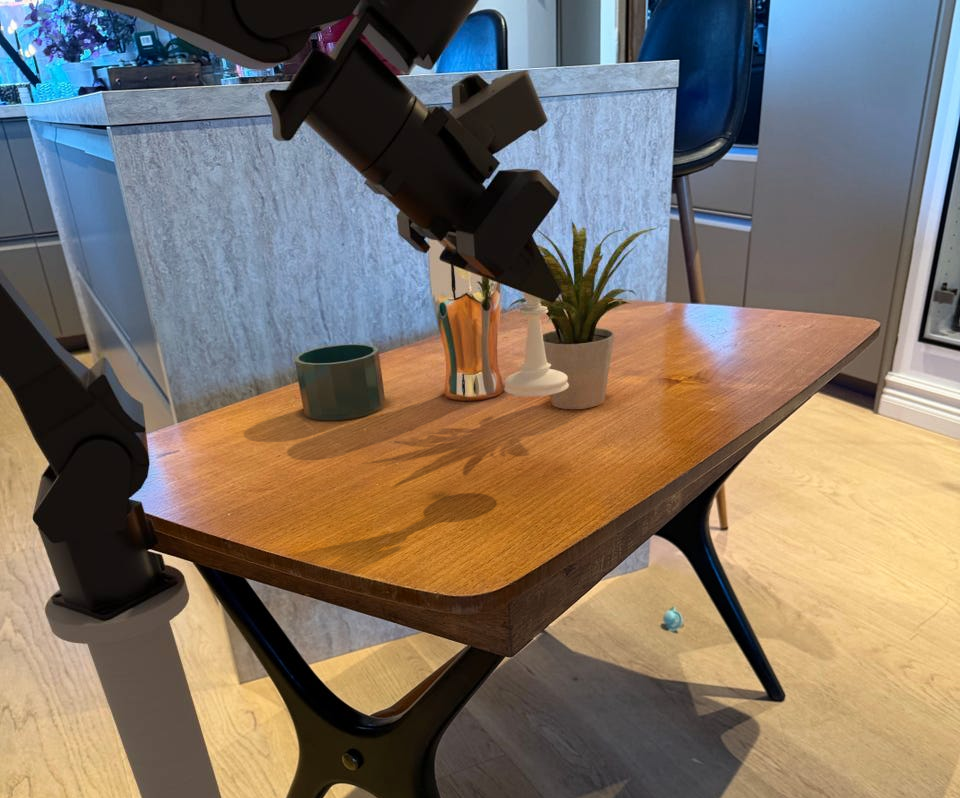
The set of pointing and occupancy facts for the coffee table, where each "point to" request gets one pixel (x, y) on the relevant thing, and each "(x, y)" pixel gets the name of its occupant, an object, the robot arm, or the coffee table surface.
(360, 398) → the pot
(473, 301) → the beer glass
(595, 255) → the house plant
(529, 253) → the robot arm
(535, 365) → the chess piece
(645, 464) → the coffee table surface
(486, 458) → the coffee table surface
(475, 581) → the coffee table surface
